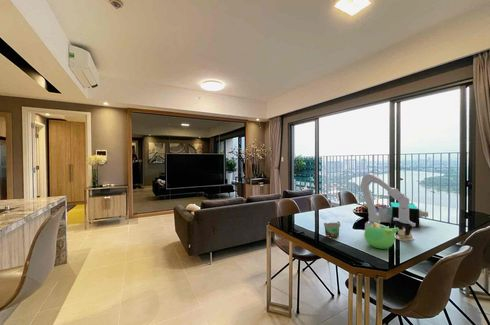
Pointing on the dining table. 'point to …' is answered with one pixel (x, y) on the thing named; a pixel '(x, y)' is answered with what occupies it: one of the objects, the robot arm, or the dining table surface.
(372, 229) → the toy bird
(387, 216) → the ink cartridge box
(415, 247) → the dining table surface
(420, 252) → the dining table surface
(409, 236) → the birch block
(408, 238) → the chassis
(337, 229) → the food container
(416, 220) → the electronic device
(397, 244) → the dining table surface
